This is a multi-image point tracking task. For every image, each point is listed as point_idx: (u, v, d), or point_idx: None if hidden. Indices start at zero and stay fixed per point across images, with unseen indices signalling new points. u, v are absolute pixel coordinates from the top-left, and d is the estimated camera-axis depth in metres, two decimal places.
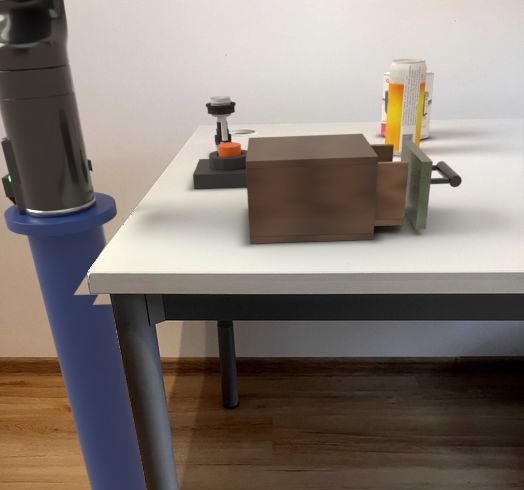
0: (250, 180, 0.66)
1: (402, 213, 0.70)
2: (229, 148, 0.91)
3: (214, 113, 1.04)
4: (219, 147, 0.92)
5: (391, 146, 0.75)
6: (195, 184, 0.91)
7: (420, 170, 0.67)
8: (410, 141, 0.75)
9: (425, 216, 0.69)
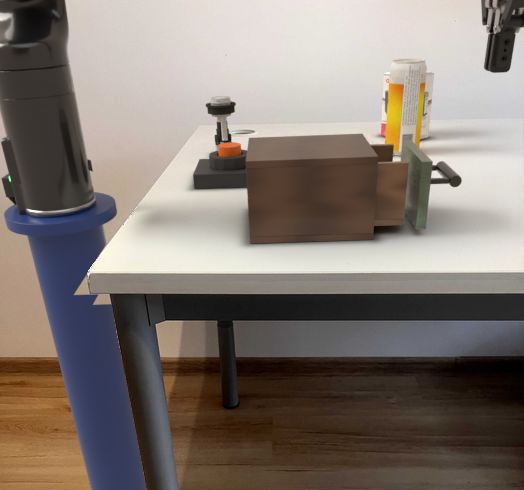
0: (250, 180, 0.66)
1: (402, 213, 0.70)
2: (229, 148, 0.91)
3: (214, 113, 1.04)
4: (219, 147, 0.92)
5: (391, 146, 0.75)
6: (195, 184, 0.91)
7: (420, 170, 0.67)
8: (410, 141, 0.75)
9: (425, 216, 0.69)
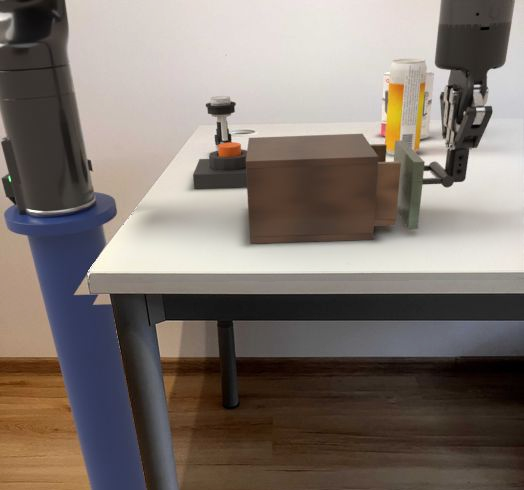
0: (250, 180, 0.66)
1: (394, 213, 0.70)
2: (229, 148, 0.91)
3: (214, 113, 1.04)
4: (219, 147, 0.92)
5: (384, 146, 0.75)
6: (195, 184, 0.91)
7: (412, 170, 0.67)
8: (403, 141, 0.75)
9: (417, 216, 0.69)
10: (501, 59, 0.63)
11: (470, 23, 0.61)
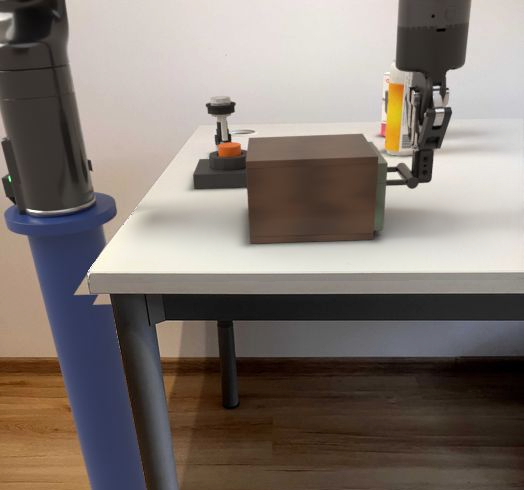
0: (250, 180, 0.66)
1: None
2: (229, 148, 0.91)
3: (214, 113, 1.04)
4: (219, 147, 0.92)
5: None
6: (195, 184, 0.91)
7: None
8: (370, 142, 0.75)
9: (382, 217, 0.69)
10: (460, 60, 0.63)
11: (426, 25, 0.61)
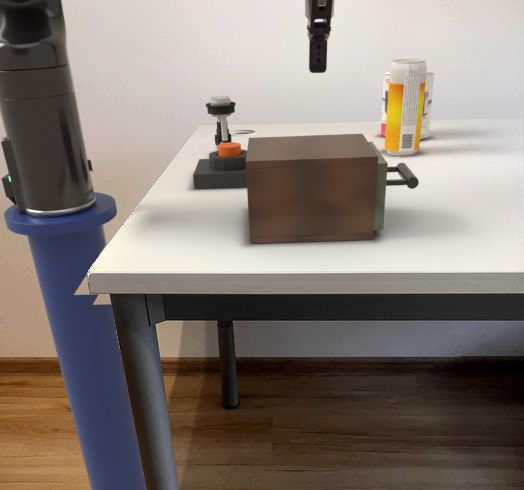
0: (250, 180, 0.66)
1: None
2: (229, 148, 0.91)
3: (214, 113, 1.04)
4: (219, 147, 0.92)
5: None
6: (195, 184, 0.91)
7: None
8: (370, 142, 0.75)
9: (382, 217, 0.69)
10: None
11: None
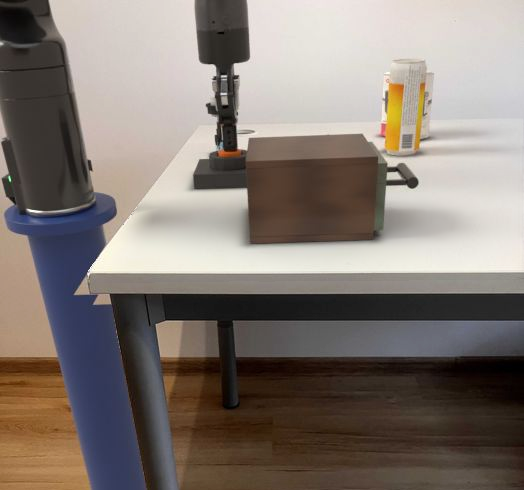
0: (250, 180, 0.66)
1: None
2: (229, 154, 0.92)
3: (214, 113, 1.04)
4: (219, 153, 0.93)
5: None
6: (195, 184, 0.91)
7: None
8: (370, 142, 0.75)
9: (382, 217, 0.69)
10: (241, 56, 0.84)
11: (210, 29, 0.81)
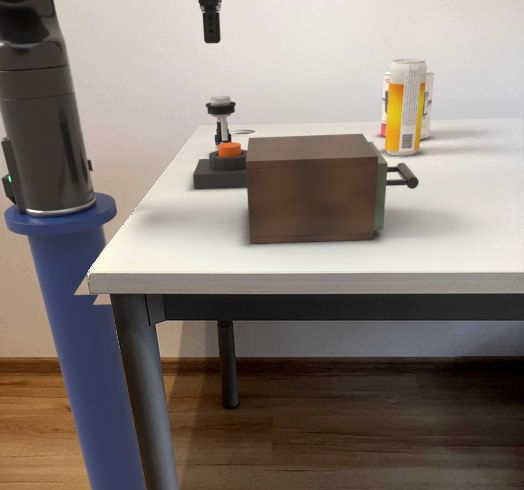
0: (250, 180, 0.66)
1: None
2: (229, 148, 0.91)
3: (214, 113, 1.04)
4: (219, 147, 0.92)
5: None
6: (195, 184, 0.91)
7: None
8: (370, 142, 0.75)
9: (382, 217, 0.69)
10: None
11: None
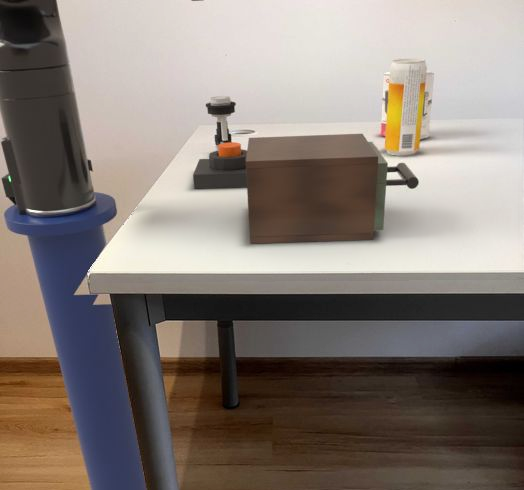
0: (250, 180, 0.66)
1: None
2: (229, 148, 0.91)
3: (214, 113, 1.04)
4: (219, 147, 0.92)
5: None
6: (195, 184, 0.91)
7: None
8: (370, 142, 0.75)
9: (382, 217, 0.69)
10: None
11: None
